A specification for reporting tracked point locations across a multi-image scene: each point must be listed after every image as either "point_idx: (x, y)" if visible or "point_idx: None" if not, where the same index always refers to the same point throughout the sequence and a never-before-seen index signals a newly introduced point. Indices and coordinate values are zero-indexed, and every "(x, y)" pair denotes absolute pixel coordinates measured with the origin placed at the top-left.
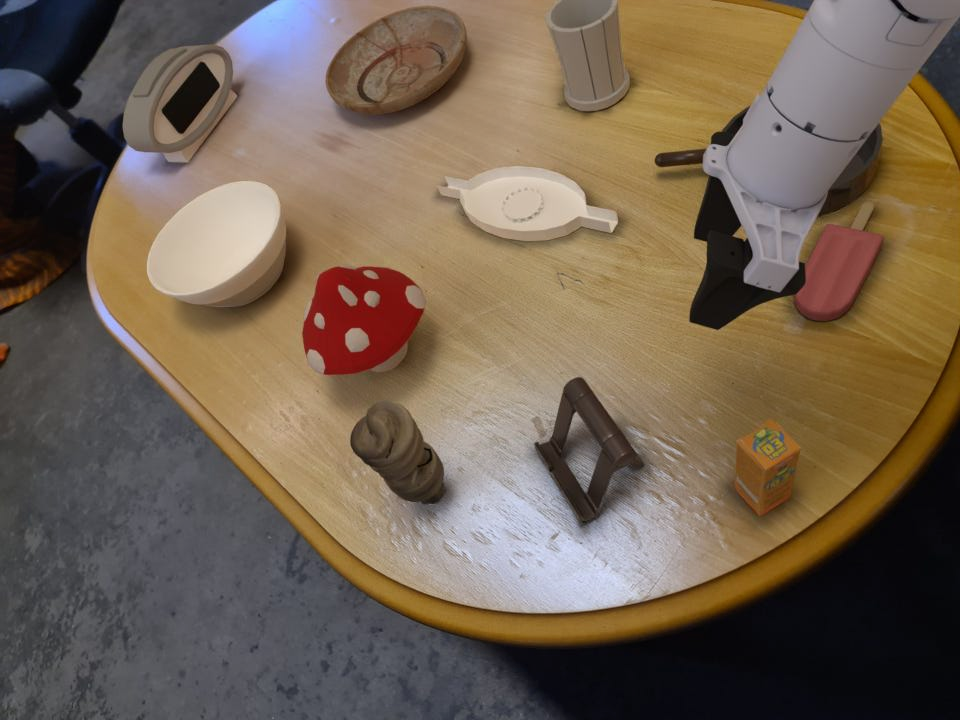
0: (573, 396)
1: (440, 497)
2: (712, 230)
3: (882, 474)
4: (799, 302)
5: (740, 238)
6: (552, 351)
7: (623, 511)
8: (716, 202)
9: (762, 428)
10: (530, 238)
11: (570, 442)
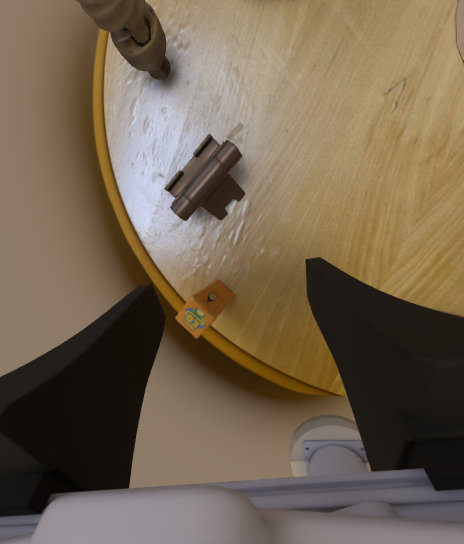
0: (217, 152)
1: (155, 77)
2: (313, 290)
3: (246, 357)
4: None
5: (45, 468)
6: (307, 113)
7: None
8: (336, 311)
9: (204, 313)
10: (459, 21)
11: None
